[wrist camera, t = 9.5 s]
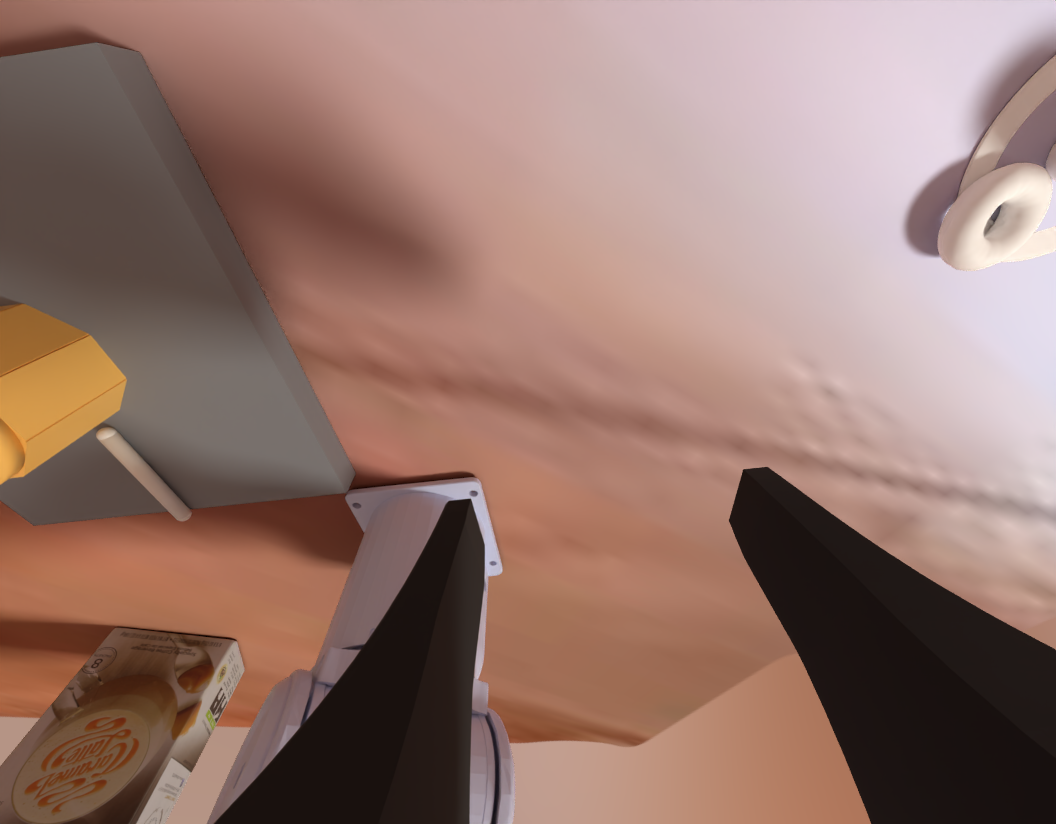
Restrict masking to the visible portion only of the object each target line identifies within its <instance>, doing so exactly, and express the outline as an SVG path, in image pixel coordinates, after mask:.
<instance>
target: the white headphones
mask: <svg viewBox="0 0 1056 824" xmlns="http://www.w3.org/2000/svg"><path fill="white" fill-rule="evenodd" d="M1055 90H1056V55H1055V56H1054V57H1053V58H1051V59H1050V60H1049V61H1048V62H1047V63H1046V64H1045V65H1044V66H1043V67H1041V68H1040V69H1039V70H1038V71H1037V72H1036V73H1035V74H1034V75H1033V76H1032V77H1031V78H1030V79H1029V80H1028V81H1027V82H1026V83H1025V84H1024V85H1023V87H1022V88H1021V89H1020V90H1019V91H1018V92H1017V93H1016V94H1015V95H1014V97H1013V98H1012V99H1011V100H1010V101H1009V102H1008V104H1007V105H1006V106H1005V107H1004V109H1003V110H1002V111H1001V113H1000V114H999V115H998V116H997V118H996V119H995V121H994V122H993V123H992V125H991V126H990V128H989V129H988V131H987V132H986V134H985V135H984V137H983V139H982V140H981V142H980V144H979V145H978V147H977V149H976V151H975V152H974V154H973V156H972V158H971V160H970V162H969V165H968V167H967V169H966V172H965V174H964V177H963V179H962V182H961V186H960V189H959V193H958V197H957V199H956V201H955V202H954V203H953V205H952V206H951V207H950V209H949V210H948V212H947V214H946V216H945V218H944V220H943V222H942V224H941V227H940V230H939V234H938V251H939V254H940V256H941V258H942V260H943V261H944V262H945V263H947V264H948V265H950V266H952V267H953V268H955V269H957V270H963V271H975V270H980V269H984V268H987V267H990V266H992V265H994V264H997V263H999V262H1015V261H1022V260H1027V259H1032V258H1036V257H1039V256H1042V255H1045V254H1048V253H1051V252H1054V251H1056V226H1055V227H1052V228H1049V229H1046V230H1042V231H1038V232H1035V231H1036V229H1037V228H1038V226H1039V225H1040V223H1041V222H1042V220H1043V218H1044V216H1045V214H1046V212H1047V210H1048V208H1049V205H1050V201H1051V195H1052V180H1051V178H1052V179H1053V180H1054V181H1056V142H1055V144H1054V145H1053V147H1052V149H1051V151H1050V153H1049V155H1048V157H1047V161H1046V169H1044V168H1043V167H1042V166H1039V165H1037V164H1033V163H1014V164H1011V165H1008V166H1005V167H1002V168H999V169H996V170H994V169H995V167H996V164H997V162H998V160H999V158H1000V156H1001V155H1002V153H1003V151H1004V149H1005V148H1006V146H1007V144H1008V143H1009V141H1010V140H1011V138H1012V137H1013V135H1014V134H1015V133H1016V131H1017V130H1018V129H1019V127H1020V126H1021V125H1022V124H1023V122H1024V121H1025V120H1026V119H1027V118H1028V116H1029V115H1030V114H1031V113H1032V112H1033V111H1034V110H1035V109H1036V108H1037V107H1038V106H1039V105H1040V104H1041V103H1042V102H1043V101H1044V100H1045V99H1046V98H1047V97H1048V96H1049V95H1050V94H1051V93H1052V92H1053V91H1055ZM999 205H1001V209H1000V212H999V215H998V217H997V219H996V221H995V223H994V222H993V220H992V219H991V217H990V216H991V215H992V214H993V212H994V211H995V210H996V209H997V207H998V206H999Z"/></svg>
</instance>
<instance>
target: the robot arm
mask: <svg viewBox="0 0 1056 824" xmlns="http://www.w3.org/2000/svg"><path fill="white" fill-rule="evenodd" d="M472 491H476V492H472ZM345 500H346V502H347V504H348V505H349V507H350V509H351V511H352V512H353V514H354V516H355V518H356V520H357V521H358V523H359V525H360V527H361V528H362V530H363V532H364V536H363V538H362V541H361V544H360V547H359V549H358V552H357V555H356V557H355V560H354V563H353V565H352V568H351V571H350V573H349V576H348V579H347V581H346V584H345V587H344V589H343V592H342V595H341V597H340V600H339V603H338V605H337V608H336V611H335V613H334V616H333V619H332V621H331V624H330V627H329V629H328V632H327V635H326V637H325V640H324V643H323V645H322V648H321V651H320V653H319V656H318V659H317V661H316V664H315V666H314V667H313V668H312V669H311V671H307V670H302V669H298V670H296V671H294V672H293V673H292V674H291V675H290V676H289V677H287V678H285V679H284V680H282V681H281V682H279V683H277V684H276V685H275V686H274V687H273V688H272V690H271V691H270V693H269V695H268V696H267V698H266V700H265V702H264V703H263V705H262V707H261V709H260V711H259V713H258V715H257V717H256V719H255V721H254V722H253V724H252V726H251V728H250V730H249V733H248V735H247V737H246V739H245V741H244V743H243V745H242V747H241V749H240V751H239V753H238V755H237V758H236V760H235V762H234V764H233V766H232V768H231V770H230V772H229V775H228V777H227V779H226V781H225V783H224V786H223V788H222V790H221V792H220V795H219V797H218V799H217V801H216V804H215V806H214V808H213V811H212V813H211V815H210V818H209V820H208V822H207V824H513V817H514V807H515V771H514V762H513V756H512V751H511V747H510V744H509V739H508V735H507V732H506V730H505V727H504V724H503V722H502V720H501V718H500V717H499V715H498V714H497V713H496V712H495V711H494V710H492V709H490V708H488V707H487V705H488V683H486V682H483V681H480V680H478V678H479V675H480V673H481V669H482V665H483V660H484V647H485V629H486V611H487V593H488V576H494V575H499V574H501V573H502V563H501V559H500V555H499V551H498V547H497V544H496V540H495V536H494V532H493V528H492V524H491V520H490V516H489V513H488V509H487V505H486V501H485V497H484V493H483V489H482V485H481V482H480V480H479V479H477V478H474V477H468V478H459V479H449V480H440V481H430V482H421V483H411V484H402V485H392V486H382V487H373V488H363V489H354V490H349V491H348V492H347V494H346V496H345ZM729 522H730V524H731V527H732V529H733V532H734V534H735V537H736V539H737V542H738V544H739V546H740V549H741V551H742V553H743V556H744V558H745V560H746V562H747V563H748V565H749V567H750V569H751V571H752V572H753V574H754V576H755V578H756V580H757V581H758V583H759V585H760V587H761V588H762V590H763V592H764V594H765V595H766V597H767V599H768V601H769V602H770V604H771V606H772V608H773V610H774V611H775V613H776V615H777V617H778V618H779V620H780V622H781V624H782V625H783V627H784V629H785V631H786V632H787V634H788V636H789V638H790V639H791V641H792V643H793V645H794V647H795V649H796V650H797V652H798V654H799V656H800V658H801V660H802V662H803V664H804V666H805V668H806V670H807V673H808V675H809V677H810V679H811V681H812V683H813V686H814V688H815V690H816V692H817V694H818V696H819V699H820V701H821V703H822V705H823V707H824V710H825V712H826V714H827V717H828V719H829V721H830V724H831V726H832V728H833V731H834V733H835V735H836V738H837V740H838V742H839V745H840V747H841V749H842V751H843V754H844V756H845V759H846V761H847V764H848V766H849V768H850V771H851V774H852V776H853V779H854V781H855V784H856V786H857V788H858V791H859V794H860V796H861V798H862V801H863V803H864V806H865V808H866V811H867V813H868V816H869V819H870V821H871V824H1056V650H1055V649H1054V648H1052V647H1050V646H1048V645H1046V644H1044V643H1042V642H1040V641H1038V640H1036V639H1035V638H1033V637H1031V636H1029V635H1027V634H1025V633H1023V632H1021V631H1019V630H1018V629H1016V628H1014V627H1012V626H1010V625H1008V624H1006V623H1005V622H1003V621H1001V620H999V619H997V618H995V617H994V616H992V615H990V614H988V613H986V612H985V611H983V610H981V609H979V608H978V607H976V606H974V605H973V604H971V603H969V602H967V601H966V600H964V599H962V598H961V597H959V596H957V595H955V594H954V593H952V592H950V591H949V590H947V589H945V588H943V587H942V586H940V585H938V584H937V583H935V582H933V581H932V580H930V579H928V578H927V577H925V576H924V575H922V574H920V573H919V572H917V571H916V570H914V569H912V568H911V567H909V566H908V565H906V564H905V563H903V562H902V561H900V560H899V559H897V558H895V557H894V556H892V555H891V554H889V553H888V552H886V551H885V550H883V549H882V548H880V547H879V546H877V545H876V544H874V543H873V542H871V541H870V540H868V539H867V538H865V537H864V536H862V535H861V534H860V533H858V532H857V531H855V530H854V529H852V528H851V527H849V526H848V525H847V524H845V523H844V522H842V521H841V520H840V519H838V518H837V517H835V516H834V515H833V514H831V513H830V512H828V511H827V510H826V509H824V508H823V507H822V506H820V505H819V504H817V503H816V502H815V501H813V500H812V499H811V498H809V497H808V496H807V495H805V494H804V493H802V492H801V491H800V490H798V489H797V488H796V487H794V486H793V485H792V484H790V483H789V482H788V481H786V480H785V479H783V478H782V477H781V476H779V475H778V474H777V473H775V472H774V471H772V470H771V469H770V468H768V467H762V468H752V469H743V473H742V476H741V480H740V483H739V487H738V490H737V494H736V497H735V501H734V504H733V508H732V511H731V515H730V519H729Z"/></svg>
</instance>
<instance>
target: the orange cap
mask: <svg viewBox="0 0 1056 824" xmlns="http://www.w3.org/2000/svg"><path fill="white" fill-rule="evenodd" d="M126 381H127V379H126V377H125V376H124V375H123V373H122V372H121V371H120V370H119V369H118V367H117V366H116V365H115V364H114V363H113V361H112V360H111V359H110V358H109V357H108V355H107V354H106V353H105V352H104V351H103V349H102V348H101V347H100V346H99V345H98V343H97V342H96V341H95V340H94V339H93V337H92V336H91V335H89V334H88V333H86V332H84V331H82V330H80V329H77V328H75V327H73V326H71V325H69V324H67V323H65V322H62V321H60V320H58V319H56V318H54V317H52V316H50V315H47V314H45V313H43V312H41V311H39V310H37V309H35V308H32V307H30V306H28V305H26V304H23V303H22V304H15V305H7V306H0V485H1V484H2V483H4V482H5V481H7V480H8V479H10V478H17V477H24V476H25V475H26V474H28V473H29V472H31V471H32V470H34V469H35V468H37V467H38V466H39V465H41V464H42V463H44V462H45V461H47V460H48V459H50V458H51V457H52V456H54V455H55V454H57V453H58V452H60V451H61V450H63V449H64V448H65V447H67V446H68V445H70V444H71V443H73V442H74V441H76V440H77V439H78V438H80V437H81V436H83V435H84V434H86V433H87V432H89V431H90V430H91V429H93V428H94V427H96V426H97V425H99V424H100V423H102V422H103V421H104V420H106V419H107V418H109V417H110V416H112V415H113V414H115V413H116V412H117V411H119V410H120V406H121V402H122V398H123V394H124V390H125V386H126Z"/></svg>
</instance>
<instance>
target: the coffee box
mask: <svg viewBox="0 0 1056 824" xmlns="http://www.w3.org/2000/svg"><path fill="white" fill-rule="evenodd" d="M244 670H245V669H244V665H243V661H242V658H241V654H240V650H239V647H238V643H237V641H234V640H230V639H220V638H211V637H203V636H194V635H185V634H175V633H166V632H157V631H148V630H139V629H128V628H114V629H113V630H112V632H111V633H110V634H109V635H108V636H107V638H106V639H105V640H104V641H103V642H102V644H101V645H100V646H99V647H98V649H97V650H96V651H95V652H94V654H93V655H92V656H91V657H90V658H89V659H88V661H87V662H86V663H85V665H84V666H83V667H82V668H81V669H80V671H79V672H78V673H77V674H76V675H75V677H74V678H73V679H72V680H71V681H70V682H69V684H68V685H67V686H66V687H65V689H64V690H63V691H62V692H61V694H60V695H59V696H58V697H57V699H56V700H55V701H54V702H53V703H52V704H51V706H50V707H49V708H48V709H47V710H46V712H45V713H44V714H43V715H42V716H41V718H40V719H39V720H38V722H36V724H35V725H34V726H33V727H32V729H31V730H30V731H29V732H28V734H27V735H26V736H25V737H24V738H23V739H22V741H21V742H20V743H19V744H18V746H17V747H16V748H15V749H14V750H13V752H12V753H11V754H10V755H9V756H8V758H7V759H6V760H5V761H4V763H3V764H2V765H1V766H0V824H165V823H166V821H167V819H168V817H169V815H170V813H171V811H172V809H173V807H174V805H175V803H176V801H177V800H178V798H179V796H180V794H181V792H182V790H183V788H184V786H185V784H186V782H187V780H188V778H189V776H190V774H191V772H192V770H193V768H194V767H195V765H196V763H197V761H198V759H199V757H200V755H201V753H202V751H203V749H204V747H205V745H206V743H207V741H208V739H209V737H210V736H211V734H212V732H213V730H214V728H215V726H216V724H217V723H218V721H219V719H220V717H221V715H222V713H223V711H224V709H225V707H226V705H227V703H228V701H229V699H230V697H231V696H232V694H233V692H234V690H235V688H236V686H237V684H238V682H239V680H240V678H241V676H242V674H243V672H244Z"/></svg>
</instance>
